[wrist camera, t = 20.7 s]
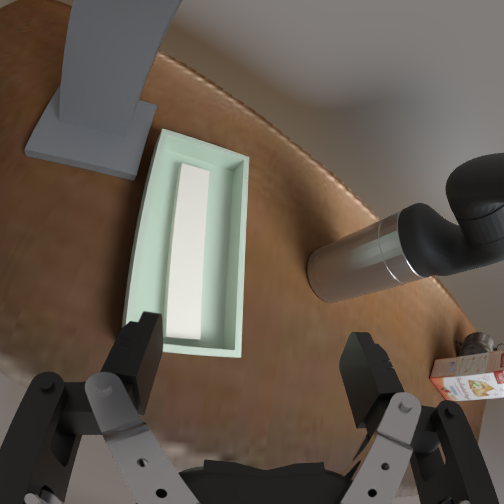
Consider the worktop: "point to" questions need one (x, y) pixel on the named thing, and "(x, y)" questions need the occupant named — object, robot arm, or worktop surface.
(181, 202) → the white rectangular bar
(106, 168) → the grey pedestal stand
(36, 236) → the worktop surface
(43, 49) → the worktop surface
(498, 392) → the cracker box
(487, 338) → the alarm clock
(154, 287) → the tray
